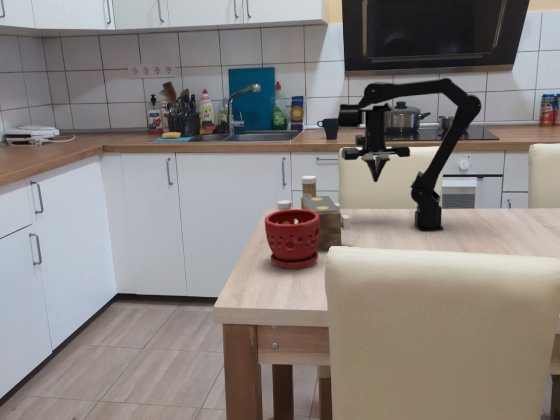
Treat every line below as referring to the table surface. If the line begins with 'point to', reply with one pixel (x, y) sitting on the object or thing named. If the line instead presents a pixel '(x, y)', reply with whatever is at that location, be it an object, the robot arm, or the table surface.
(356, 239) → the table surface
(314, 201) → the card
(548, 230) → the table surface
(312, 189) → the sprinkles bottle
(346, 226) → the button
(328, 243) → the button box
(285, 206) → the supplement bottle
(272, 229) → the plant pot
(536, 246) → the table surface
